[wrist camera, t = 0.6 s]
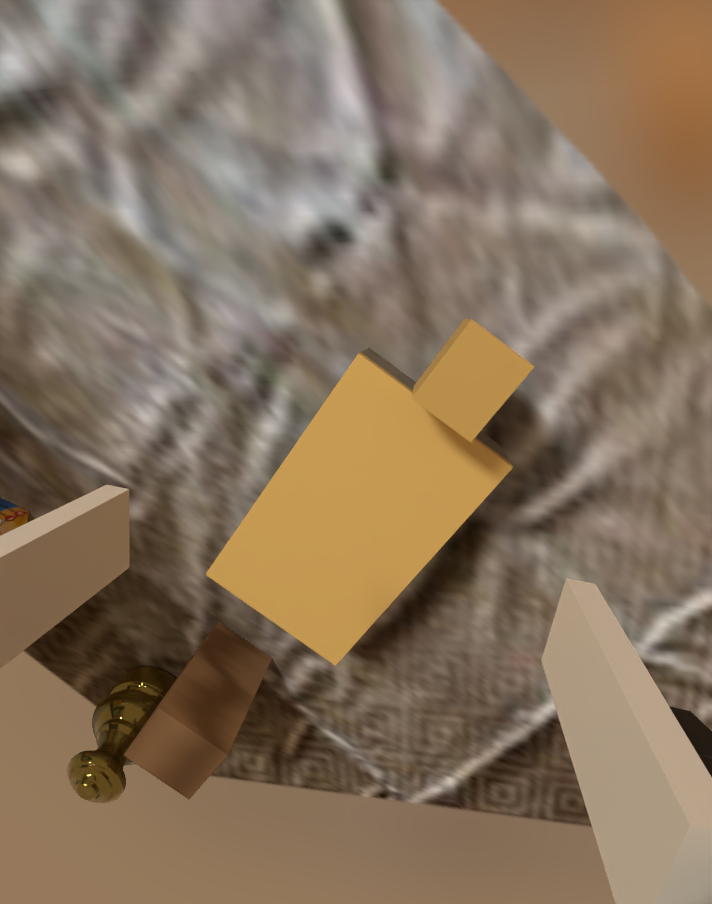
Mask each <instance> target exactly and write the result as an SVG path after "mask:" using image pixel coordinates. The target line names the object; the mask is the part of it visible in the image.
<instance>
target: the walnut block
mask: <svg viewBox="0 0 712 904" xmlns="http://www.w3.org/2000/svg"><path fill="white" fill-rule="evenodd" d="M271 660H272V658H271V657H269V656H268V655H267V654H265V653H264V652H262V651H261V650H259V649H258V648H256V647H255V646H254V645H252V644H251V643H249V642H248V641H246V640H245V639H244V638H242V637H241V636H239V635H238V634H236V633H235V632H234V631H232V630H231V629H229V628H228V627H226V626H225V625H223V624H222V623H221V622H219V621H218V623H217V624H216V626H215V627H214V628H213V630H212V631H211V632H210V634H209V635H208V636H207V638H206V639H205V640H204V642H203V643H202V644H201V646H200V647H199V649H198V650H197V651H196V653H195V654H194V655H193V657H192V658H191V659H190V661H189V662H188V664H187V665H186V666H185V668H184V669H183V671H182V672H181V674H180V675H179V676H178V678H177V679H176V681H175V682H174V684H173V685H172V686H171V688H170V689H169V691H168V692H167V694H166V695H165V696H164V698H163V699H162V701H161V702H160V704H159V705H158V706H157V708H156V709H155V711H154V712H153V714H152V715H151V716H150V718H149V719H148V721H147V722H146V724H145V725H144V727H143V728H142V729H141V731H140V732H139V734H138V735H137V737H136V738H135V739H134V741H133V742H132V744H131V745H130V747H129V748H128V749H127V751H126V752H125V754H124V756H125V757H127V758H128V759H130V760H131V761H133V762H134V763H136V764H137V765H139V766H140V767H142V768H143V769H145V770H146V771H148V772H149V773H151V774H152V775H154V776H155V777H157V778H158V779H160V780H161V781H162V782H164V783H165V784H167V785H168V786H170V787H171V788H173V789H174V790H176V791H177V792H179V793H180V794H182V795H183V796H185V797H186V798H188V799H190V798H191V797H192V795H194V793H195V792H196V791H197V790H198V789H199V788H200V786H201V785H202V784H203V783H204V782H205V781H206V779H207V778H208V777H209V776H210V775H211V774H212V773H213V771H214V770H215V769H216V768H217V767H218V766H219V764H220V763H221V762H222V761H223V760H224V759H225V757H226V756H227V755H228V753H229V751H230V749H231V747H232V744H233V742H234V740H235V738H236V736H237V734H238V731H239V729H240V727H241V725H242V723H243V721H244V718H245V716H246V714H247V712H248V710H249V708H250V705H251V703H252V701H253V699H254V697H255V694H256V692H257V690H258V688H259V686H260V684H261V681H262V679H263V677H264V675H265V673H266V671H267V668H268V666H269V664H270V662H271Z"/></svg>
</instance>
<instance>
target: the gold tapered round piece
mask: <svg viewBox="0 0 712 904" xmlns="http://www.w3.org/2000/svg"><path fill="white" fill-rule="evenodd" d="M175 681H176V679H175V678H174V677H173V676H172V675H170V674H169V673H167V672H165V671H163V670H161V669H158V668H154V667H137V668H134V669H132V670H130V671H129V672H127V673H126V674H125V675H124V676H123V678H122V679H121V680H120V681H119V682H118V684H116V685H115V686H114V687H113V688H112V690H111V691H110V693H109V696H107V697H106V698H105V699H104V700H102V701H101V702H100V703H99V705H98V706H97V707H96V709H95V711H94V714H93V719H92V727H93V732H94V735H95V737H96V740H97V744H98V749H97V750H95V751H84V752H80V753H78V754H77V755H75V756H74V757H73V758H72V759H71V761H70V763H69V764H68V767H67V776H68V780H69V782H70V784H71V786H72V787H73V789H74V790H75V792H76V793H77V794H78V795H79V796H80V797H81V798H83V799H85V800H88V801H91V802H96V803H110V802H113V801H115V800H117V799H118V798H119V797H120V796H121V794H122V793H123V791H124V789H125V786H126V778H125V775H124V772H123V766H124V765H132V764H136V763H134V762H133V761H131V760H130V759H128V758H127V757H125V756H124V754H125V752H126V751H127V749H128V748H129V747H130V745H131V744H132V742H133V741H134V739H135V738H136V737H137V735H138V734H139V732H140V731H141V729H142V728H143V727H144V725H145V724H146V722H147V721H148V719H149V718H150V716H151V715H152V714H153V712H154V711H155V709H156V708H157V706H158V705H159V704H160V702H161V701H162V699H163V698H164V696H165V695H166V694H167V692H168V691H169V689H170V688H171V686H172V685H173V684H174V682H175Z"/></svg>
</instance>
